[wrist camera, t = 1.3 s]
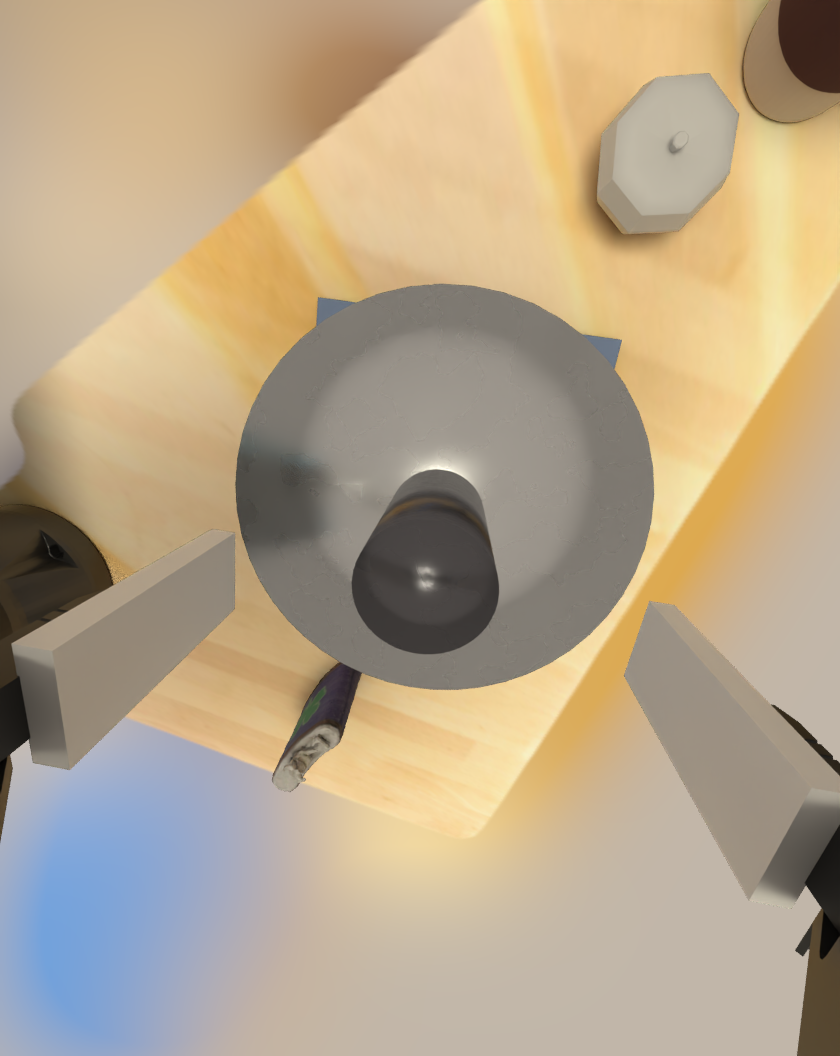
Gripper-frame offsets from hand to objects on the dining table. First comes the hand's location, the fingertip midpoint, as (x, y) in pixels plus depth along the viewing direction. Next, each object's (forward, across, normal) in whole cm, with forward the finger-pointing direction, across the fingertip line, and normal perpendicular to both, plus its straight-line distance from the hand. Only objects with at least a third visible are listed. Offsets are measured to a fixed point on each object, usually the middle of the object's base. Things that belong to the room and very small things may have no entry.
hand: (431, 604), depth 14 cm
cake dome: (+24, 0, 0) cm, 24 cm away
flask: (+25, -8, -24) cm, 36 cm away
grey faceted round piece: (+25, +10, +21) cm, 34 cm away
